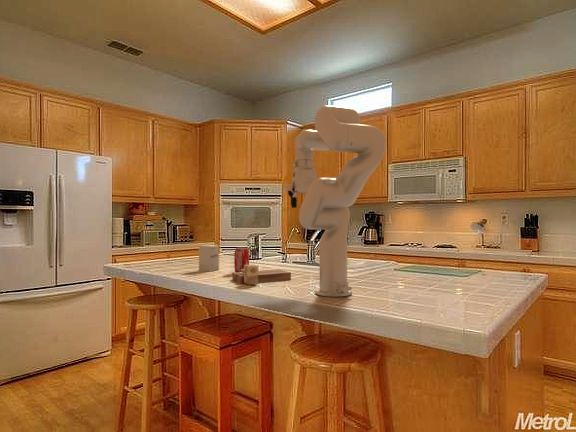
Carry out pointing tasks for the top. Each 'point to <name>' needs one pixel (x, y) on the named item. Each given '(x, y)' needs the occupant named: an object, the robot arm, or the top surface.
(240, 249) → the soda can
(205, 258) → the supplement box
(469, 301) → the top surface
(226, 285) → the top surface
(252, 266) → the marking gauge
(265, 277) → the walnut plank
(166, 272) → the top surface
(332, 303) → the top surface
